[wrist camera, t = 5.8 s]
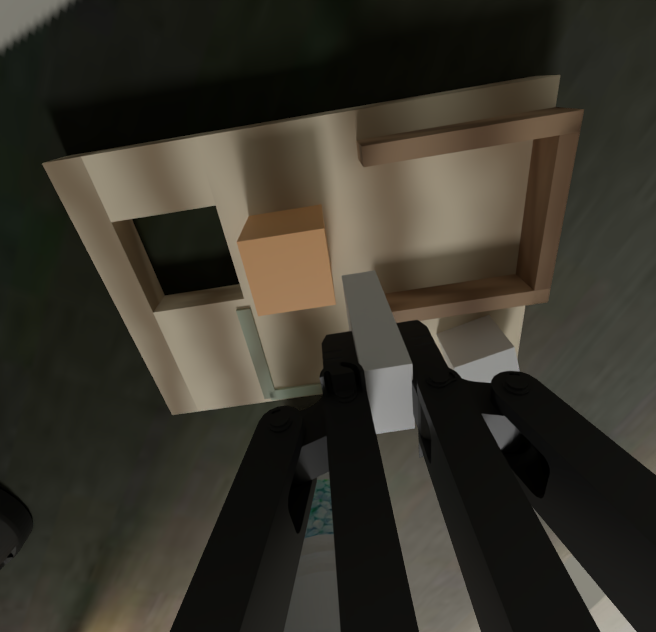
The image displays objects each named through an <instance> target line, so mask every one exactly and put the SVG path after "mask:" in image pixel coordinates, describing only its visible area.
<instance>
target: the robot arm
mask: <svg viewBox="0 0 656 632" xmlns="http://www.w3.org/2000/svg"><path fill="white" fill-rule="evenodd" d="M342 283H343V290H344V297H345V304H346V311H347V318H348V325H349V331H347V332H341V333H335V334H328V335H326V336H325V338H324V340H323V342H322V343H321V344H322V358H323V369H322V371H321V372H320V377H319V378H320V383H321V387H322V392H323V396H322V398H321V399H320V400H319V401H318V402H317V403H316V404H314V405H313V406H311V407H309V408H307V409H305V410H302V411H299V410H297V409H296V408H294V407H290V406H280V407H276V408H274V409H271V410H269V411H268V412H267V413H266V414H264V415H263V416H262V418H261V419H260V421H259V423H258V425H257V427H256V430H255V432H254V434H253V437H252V439H251V441H250V444H249V446H248V449H247V451H246V453H245V456H244V458H243V460H242V463H241V465H240V467H239V470H238V472H237V474H236V477H235V479H234V482H233V484H232V486H231V489H230V491H229V493H228V496H227V498H226V500H225V503H224V505H223V507H222V510H221V512H220V514H219V517H218V519H217V522H216V524H215V526H214V529H213V531H212V533H211V536H210V538H209V540H208V543H207V545H206V547H205V550H204V552H203V555H202V557H201V559H200V562H199V564H198V566H197V569H196V571H195V573H194V576H193V578H192V580H191V583H190V585H189V588H188V590H187V592H186V595H185V597H184V599H183V602H182V604H181V606H180V609H179V611H178V613H177V616H176V618H175V621H174V623H173V625H172V628H171V630H170V632H284V628H285V623H286V619H287V614H288V610H289V605H290V601H291V596H292V592H293V587H294V583H295V578H296V574H297V569H298V565H299V560H300V556H301V551H302V547H303V542H304V537H305V533H306V528H307V524H308V519H309V515H310V510H311V506H312V501H313V497H314V492H315V488H316V483H317V477H319V476H321V475H323V474H325V473H327V472H329V478H330V492H331V506H332V519H333V533H334V547H335V561H336V575H337V588H338V602H339V616H340V630H341V632H419V630H418V625H417V621H416V616H415V611H414V607H413V602H412V598H411V593H410V588H409V584H408V579H407V575H406V570H405V565H404V561H403V556H402V551H401V547H400V542H399V538H398V533H397V528H396V524H395V519H394V515H393V510H392V505H391V501H390V496H389V492H388V487H387V482H386V478H385V473H384V468H383V464H382V459H381V455H380V450H379V445H378V441H377V436H376V434H379V433H386V432H392V431H399V430H406V429H413V428H415V421H416V424H417V427H418V434H419V458H420V457H423V456H424V459H425V462H426V465H427V468H428V471H429V474H430V477H431V480H432V483H433V486H434V489H435V492H436V495H437V498H438V501H439V505H440V508H441V511H442V514H443V517H444V520H445V523H446V526H447V529H448V532H449V535H450V538H451V541H452V544H453V547H454V550H455V553H456V557H457V560H458V563H459V566H460V569H461V572H462V575H463V578H464V581H465V584H466V587H467V590H468V593H469V596H470V599H471V602H472V605H473V609H474V612H475V615H476V618H477V621H478V624H479V627H480V630H481V632H600V630H599V629H598V627H597V625H596V623H595V621H594V619H593V618H592V616H591V614H590V612H589V610H588V608H587V607H586V605H585V603H584V601H583V599H582V597H581V596H580V594H579V592H578V590H577V588H576V586H575V585H574V583H573V581H572V579H571V578H570V575H569V574H568V572H567V570H566V568H565V566H564V564H563V563H562V561H561V559H560V557H559V555H558V553H557V552H556V550H555V548H554V546H553V544H552V543H551V541H550V539H549V537H548V535H547V533H546V532H545V530H544V528H543V526H542V524H541V522H540V521H539V519H538V517H537V515H536V513H535V511H534V510H533V508H534V509H535V510H536V512H537V513H538V514H539V515H540V516H541V518H542V519H543V520H544V521H545V522H546V524H547V525H548V526H549V527H550V528H551V530H552V531H553V532H554V533H555V534H556V536H557V537H558V538H559V539H560V540H561V542H562V543H563V544H564V545H565V546H566V548H567V549H568V550H569V551H570V552H571V554H572V555H573V556H574V557H575V558H576V560H577V561H578V562H579V563H580V564H581V566H582V567H583V568H584V569H585V570H586V571H587V573H588V574H589V575H590V576H591V577H592V579H593V580H594V581H595V582H596V583H597V584H598V586H599V587H600V588H601V589H602V590H603V592H604V593H605V594H606V595H607V597H608V598H609V599H610V600H611V601H612V603H613V604H614V605H615V606H616V607H617V609H618V610H619V611H620V612H621V613H622V615H623V616H624V617H625V618H626V619H627V621H628V622H629V623H630V624H631V625H632V627H633V628H634V629H635V630H636V631H637V632H656V475H655V474H654V473H652V472H651V471H650V470H649V469H647V468H646V467H645V466H644V465H642V464H641V463H640V462H639V461H637V460H636V459H635V458H634V457H632V456H631V455H630V454H629V453H627V452H626V451H625V450H624V449H622V448H621V447H620V446H619V445H618V444H616V443H615V442H614V441H613V440H611V439H610V438H609V437H608V436H606V435H605V434H604V433H603V432H601V431H600V430H599V429H598V428H596V427H595V426H594V425H593V424H591V423H590V422H589V421H588V420H586V419H585V418H584V417H583V416H582V415H580V414H579V413H578V412H577V411H575V410H574V409H573V408H572V407H570V406H569V405H568V404H567V403H565V402H564V401H563V400H562V399H560V398H559V397H558V396H557V395H555V394H554V393H553V392H552V391H550V390H549V389H548V388H547V387H546V386H544V385H543V384H542V383H541V382H539V381H538V380H537V379H535V378H534V377H532V376H530V375H529V374H526V373H522V372H519V371H504V372H500V373H498V374H497V375H495V376H494V377H493V379H492V380H491V383H486V382H475V381H469V380H465V379H462V378H461V376H460V375H459V374H458V373H457V372H456V371H454V370H452V369H450V368H449V367H448V366H447V364H446V362H445V360H444V358H443V356H442V354H441V352H440V350H439V348H438V347H437V345H436V343H435V341H434V339H433V337H432V336H431V333H430V331H429V329H428V327H427V326H426V325H424V324H423V323H422V322H420V321H419V320H412V321H406V322H399V323H396V321H395V319H394V316H393V314H392V311H391V309H390V306H389V304H388V301H387V299H386V296H385V294H384V291H383V289H382V286H381V284H380V281H379V279H378V276H377V274H376V271H375V270H373V271H367V272H361V273H355V274H348V275H342ZM532 507H533V508H532ZM32 528H33V522H32V519H31V516H30V514H29V512H28V511H27V510H26V508H25V507H24V506H23V505H22V504H21V503H20V502H19V501H18V500H16V499H15V498H14V497H12V496H11V495H10V494H8V493H6V492H5V491H3V490H1V489H0V570H1V569H2V567H3V566H4V565H5V564H7V563H8V562H10V561H11V560H12V559H13V558H14V557H15V556H16V555H17V553H18V552H19V551H20V549H21V548H22V546H23V544H24V543H25V541H26V540H27V538H28V536H29V535H30V533H31V531H32Z"/></svg>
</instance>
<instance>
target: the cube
mask: <svg viewBox="0 0 656 632" xmlns="http://www.w3.org/2000/svg"><path fill="white" fill-rule="evenodd" d="M237 245H238V249H239V252H240V256H241V259H242V262H243V266H244V269H245V273H246V276H247V280H248V283H249V287H250V290H251V294H252V297H253V300H254V304H255V307H256V311H257V314H258V316H264V315H270V314H277V313H284V312H290V311H297V310H304V309H311V308H317V307H324V306H331V305H336V301H335V293H334V285H333V277H332V269H331V263H330V256H329V250H328V243H327V237H326V230H325V224H324V218H323V211H322V205H314V206H308V207H302V208H296V209H289V210H283V211H277V212H271V213H264V214H258V215H252V216H249V217H248V219H247V221H246V223H245V225H244V227H243V229H242V232H241V234H240V236H239V238H238V240H237Z"/></svg>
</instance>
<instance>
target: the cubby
mask: <svg viewBox="0 0 656 632" xmlns="http://www.w3.org/2000/svg"><path fill="white" fill-rule="evenodd" d="M583 113H584V109H572V108H560V107H553V108H547V109H541V110H535V111H529V112H523V113H517V114H511V115H505V116H499V117H493V118H487V119H481V120H475V121H469V122H463V123H457V124H451V125H445V126H439V127H433V128H427V129H421V130H415V131H410V132H404V133H398V134H392V135H386V136H380V137H374V138H368V139H362V140H356V143H357V153H358V160H359V161H360V163H361V164H362V166H363V167H369V166H375V165H381V164H387V163H393V162H399V161H406V160H412V159H418V158H424V157H430V156H436V155H442V154H448V153H454V152H460V151H466V150H473V149H479V148H485V147H491V146H497V145H503V144H509V143H515V142H521V141H527V140H533V145H532V153H531V160H530V168H529V176H528V183H527V191H526V199H525V206H524V214H523V222H522V230H521V237H520V245H519V253H518V260H517V268H516V274H512V275H506V276H499V277H492V278H486V279H479V280H472V281H466V282H459V283H452V284H446V285H439V286H432V287H426V288H419V289H412V290H406V291H399V292H392V293H386V294H385V296H386V299H387V301H388V304H389V306H390V309H391V311H392V314H393V316H394V319H395V321H396V323H399V322H406V321H412V320H419V321H423V320H430V319H436V318H443V317H450V316H457V315H464V314H471V313H477V312H484V311H491V310H498V309H505V308H511V307H518V306H525V305H532V304H539V303H546V302H548V299H549V293H550V288H551V283H552V277H553V272H554V267H555V261H556V256H557V251H558V245H559V240H560V235H561V229H562V224H563V219H564V214H565V208H566V203H567V198H568V192H569V187H570V182H571V176H572V171H573V166H574V160H575V155H576V150H577V144H578V139H579V134H580V129H581V123H582V118H583Z"/></svg>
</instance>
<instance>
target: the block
mask: <svg viewBox="0 0 656 632" xmlns="http://www.w3.org/2000/svg"><path fill="white" fill-rule="evenodd" d="M436 335H437V338H438V340H439V343H440V346H441V349H442V352H443V355H444V358H445V361H446V364H447V366H448V367H449V368H450V369H452V370H454V371H456V372H457V373H458V374H459V375H460V376H461V378H462V379H465V380H469V381H475V382H486V383H491V380H492V379H493V377H494V376H495V375H497V374H498V373H500V372H504V371H519V366H518V361H517V356H516V352H515V347H514V346H513V344H512V343H511V342H510V341H509V339H508V338H507V337H506V336H505V334H504V333H503V332H502V330H501V329H500V328H499V327H498V325H497V324H496V323H495V322H494V320H493V319H492V318H491V317H490V315H487V316H484V317H481V318H478V319H476V320H473V321H470V322H467V323H465V324H462V325H459V326H456V327H454V328H451V329H448V330H445V331H443V332H440V333H437V334H436ZM519 372H520V371H519Z"/></svg>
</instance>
